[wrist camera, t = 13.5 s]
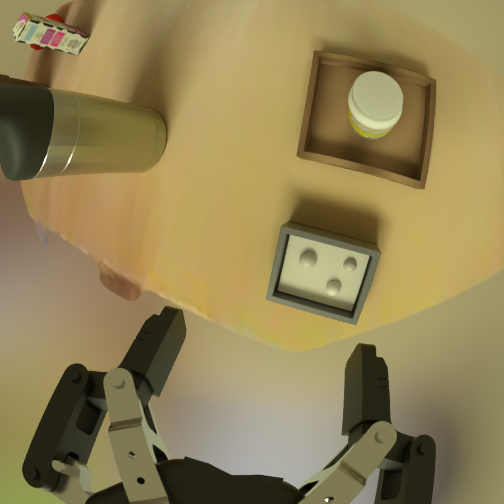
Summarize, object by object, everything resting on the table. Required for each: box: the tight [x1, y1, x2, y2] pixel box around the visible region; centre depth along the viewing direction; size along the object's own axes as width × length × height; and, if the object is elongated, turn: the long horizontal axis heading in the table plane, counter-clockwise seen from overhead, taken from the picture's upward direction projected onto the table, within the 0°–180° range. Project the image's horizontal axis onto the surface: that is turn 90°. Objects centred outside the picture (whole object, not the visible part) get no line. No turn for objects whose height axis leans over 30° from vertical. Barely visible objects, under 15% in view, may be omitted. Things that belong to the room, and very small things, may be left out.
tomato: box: [30, 14, 62, 50], centre depth 33 cm, size 10×11×7 cm
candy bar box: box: [13, 13, 89, 56], centre depth 26 cm, size 11×5×16 cm, turn 47°
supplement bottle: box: [348, 71, 403, 140], centre depth 19 cm, size 5×5×8 cm
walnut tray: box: [297, 51, 436, 189], centre depth 23 cm, size 13×12×3 cm
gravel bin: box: [266, 221, 381, 325], centre depth 28 cm, size 10×8×4 cm
